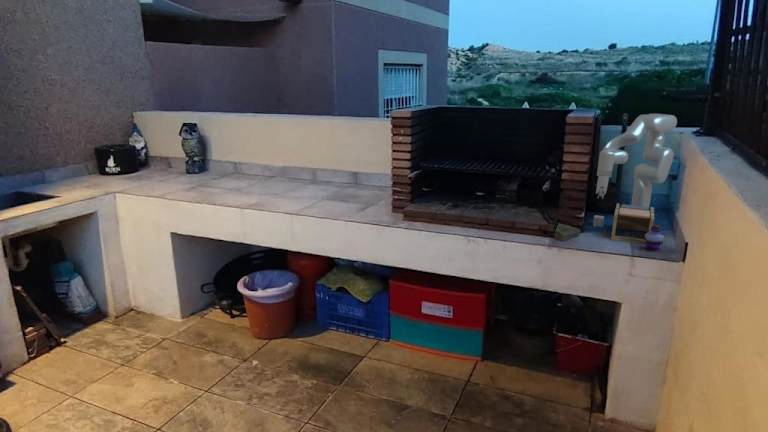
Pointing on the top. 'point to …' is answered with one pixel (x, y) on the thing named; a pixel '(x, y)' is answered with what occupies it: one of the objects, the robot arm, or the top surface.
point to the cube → (598, 221)
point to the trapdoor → (634, 211)
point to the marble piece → (566, 232)
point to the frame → (631, 225)
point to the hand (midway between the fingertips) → (600, 203)
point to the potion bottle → (654, 238)
